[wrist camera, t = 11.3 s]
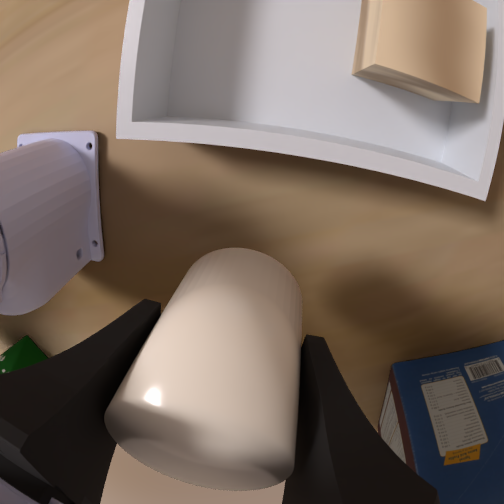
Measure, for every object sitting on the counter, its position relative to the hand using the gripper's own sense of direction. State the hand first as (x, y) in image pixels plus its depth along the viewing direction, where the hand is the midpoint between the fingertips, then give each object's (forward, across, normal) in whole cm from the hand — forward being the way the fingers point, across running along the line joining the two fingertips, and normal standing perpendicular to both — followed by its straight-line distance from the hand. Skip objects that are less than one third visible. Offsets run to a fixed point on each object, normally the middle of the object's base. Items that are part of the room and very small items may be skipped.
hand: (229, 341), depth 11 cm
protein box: (+10, -22, +11) cm, 27 cm away
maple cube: (+9, -6, -13) cm, 17 cm away
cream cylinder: (+2, 0, 0) cm, 2 cm away
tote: (+10, -1, -13) cm, 16 cm away
